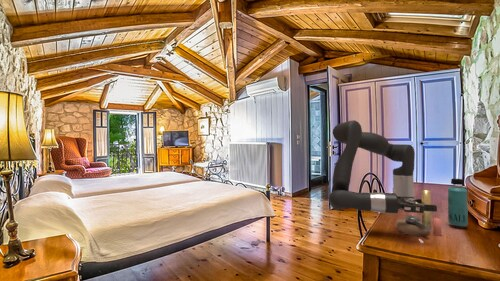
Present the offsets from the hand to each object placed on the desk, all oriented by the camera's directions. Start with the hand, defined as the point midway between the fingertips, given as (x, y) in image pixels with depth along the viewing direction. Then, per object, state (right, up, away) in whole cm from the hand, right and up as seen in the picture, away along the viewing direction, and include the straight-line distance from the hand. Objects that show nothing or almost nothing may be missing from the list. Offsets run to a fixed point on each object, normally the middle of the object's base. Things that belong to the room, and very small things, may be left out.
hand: (432, 205), depth 93 cm
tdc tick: (-5, -13, -2) cm, 14 cm away
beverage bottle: (+18, -12, +11) cm, 25 cm away
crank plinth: (-2, -12, +9) cm, 15 cm away
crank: (-2, -9, +5) cm, 11 cm away
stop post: (+5, -12, +4) cm, 14 cm away
